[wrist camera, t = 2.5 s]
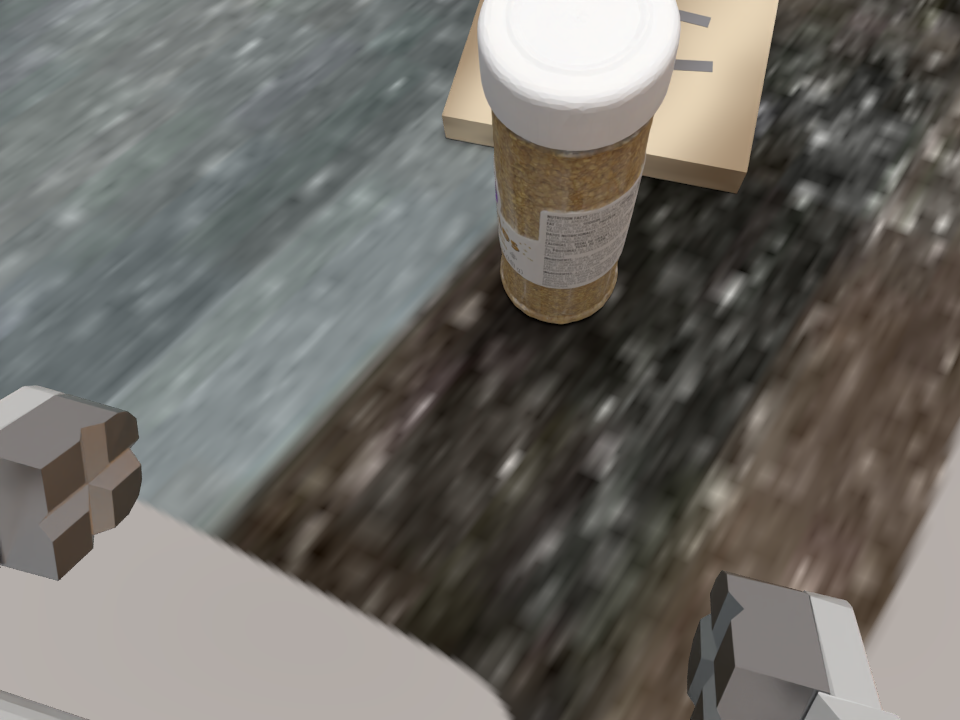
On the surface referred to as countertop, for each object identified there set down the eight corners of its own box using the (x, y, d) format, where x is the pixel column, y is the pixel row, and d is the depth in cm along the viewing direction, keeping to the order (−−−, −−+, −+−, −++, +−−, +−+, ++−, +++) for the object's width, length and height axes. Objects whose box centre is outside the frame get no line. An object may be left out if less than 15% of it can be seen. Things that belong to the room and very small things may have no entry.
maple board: (446, 137, 32) (441, 114, 30) (521, -95, 35) (521, -125, 34) (736, 193, 30) (747, 172, 28) (783, -57, 34) (794, -87, 32)
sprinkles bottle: (492, 232, 30) (461, -49, 17) (605, 212, 30) (658, -83, 17) (510, 338, 29) (492, 117, 16) (630, 318, 28) (708, 79, 16)
